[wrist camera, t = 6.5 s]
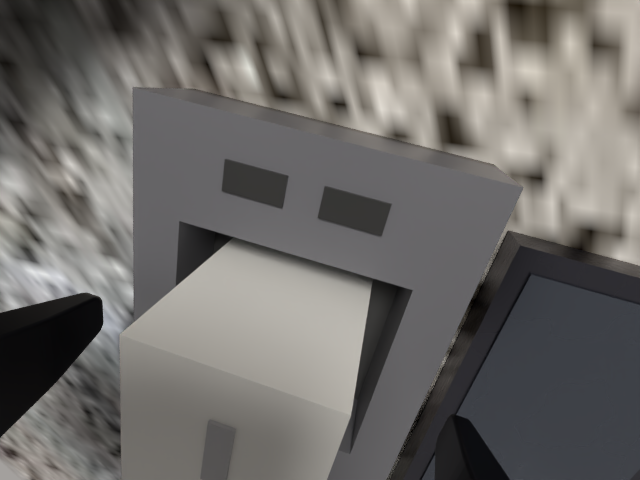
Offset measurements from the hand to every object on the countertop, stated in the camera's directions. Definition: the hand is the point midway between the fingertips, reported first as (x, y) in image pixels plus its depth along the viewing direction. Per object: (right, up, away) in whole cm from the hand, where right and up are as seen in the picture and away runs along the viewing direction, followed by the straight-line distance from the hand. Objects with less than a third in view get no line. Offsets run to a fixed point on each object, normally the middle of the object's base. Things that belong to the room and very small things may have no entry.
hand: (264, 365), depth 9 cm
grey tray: (+1, +1, +3) cm, 3 cm away
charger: (+1, +1, +2) cm, 3 cm away
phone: (+8, -3, +3) cm, 9 cm away
